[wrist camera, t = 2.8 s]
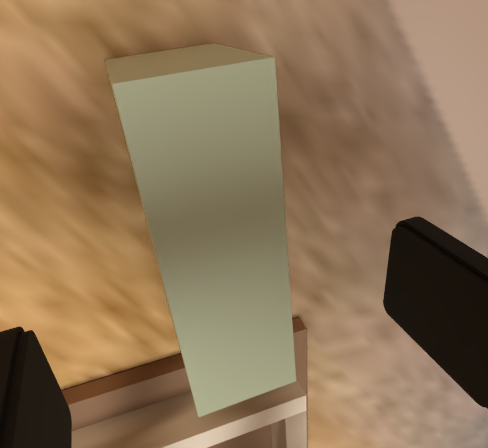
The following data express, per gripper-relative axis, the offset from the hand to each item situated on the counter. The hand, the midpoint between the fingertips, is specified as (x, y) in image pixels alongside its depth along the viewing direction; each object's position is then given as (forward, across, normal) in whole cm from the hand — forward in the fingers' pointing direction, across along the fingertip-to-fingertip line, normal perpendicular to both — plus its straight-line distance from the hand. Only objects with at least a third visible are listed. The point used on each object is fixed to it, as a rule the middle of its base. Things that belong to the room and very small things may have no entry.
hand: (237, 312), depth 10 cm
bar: (+8, -1, +1) cm, 8 cm away
